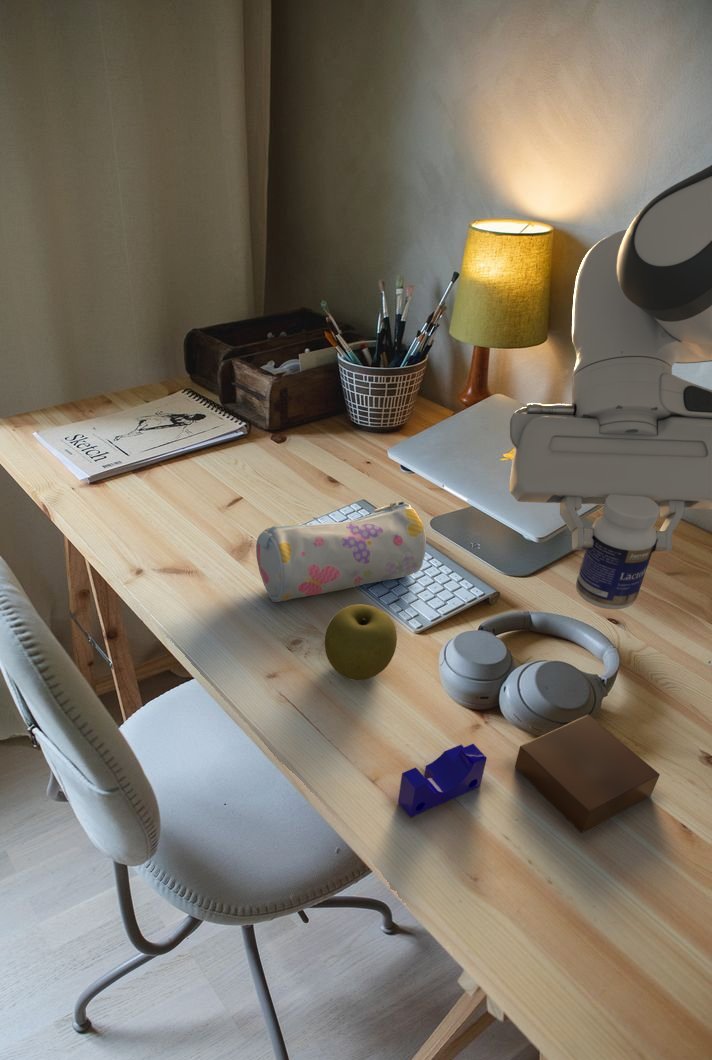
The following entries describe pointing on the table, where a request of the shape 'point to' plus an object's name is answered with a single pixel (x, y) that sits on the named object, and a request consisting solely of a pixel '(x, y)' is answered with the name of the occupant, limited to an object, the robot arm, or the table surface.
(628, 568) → the pill bottle
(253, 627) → the table surface
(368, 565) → the pencil case
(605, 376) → the robot arm
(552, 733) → the block
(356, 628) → the apple
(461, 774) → the cable holder
